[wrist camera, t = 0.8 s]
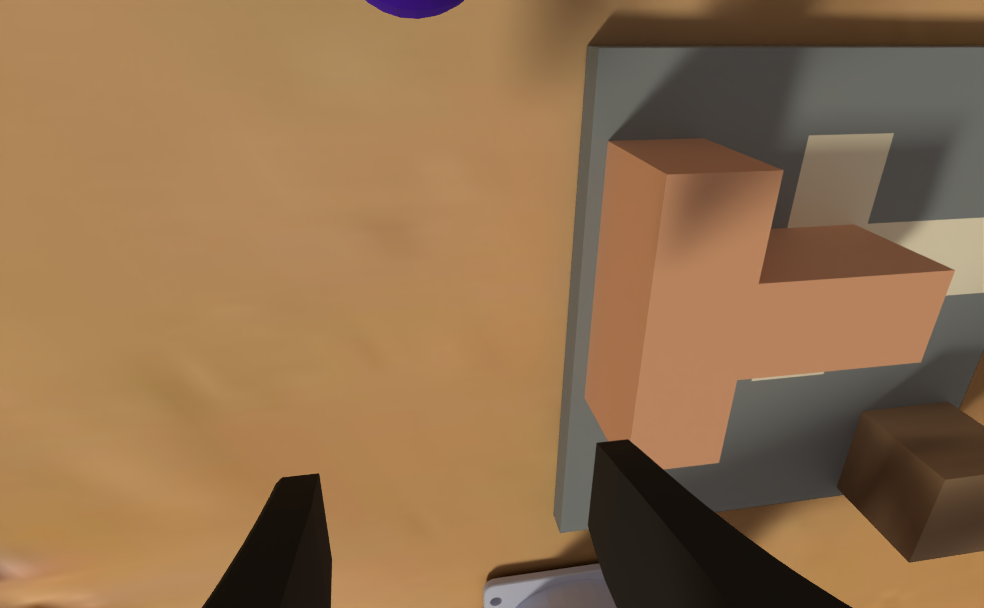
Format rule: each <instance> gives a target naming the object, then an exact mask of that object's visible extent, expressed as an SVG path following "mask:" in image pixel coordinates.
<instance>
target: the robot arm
mask: <svg viewBox="0 0 984 608" xmlns="http://www.w3.org/2000/svg"><path fill="white" fill-rule="evenodd" d="M588 528H589V531H590V535H591V538H592V541H593V545H594V548H595V551H596V555H597V558H598V561H599V563H598V564H591V565H584V566H577V567H570V568H563V569H556V570H549V571H542V572H535V573H529V574H522V575H515V576H508V577H501V578H494V579H491V580H489V581H487V582H486V583H485V585H484V587H483V608H852V607H850V606H849V605H847V604H845V603H844V602H842V601H840V600H839V599H837V598H835V597H834V596H832V595H831V594H829V593H828V592H826V591H824V590H823V589H821V588H820V587H818V586H817V585H815V584H814V583H812V582H810V581H809V580H807V579H806V578H804V577H803V576H801V575H800V574H798V573H796V572H795V571H793V570H792V569H791V568H789V567H788V566H786V565H785V564H783V563H782V562H780V561H779V560H777V559H776V558H775V557H773V556H772V555H770V554H769V553H768V552H766V551H765V550H764V549H762V548H761V547H760V546H758V545H757V544H755V543H754V542H753V541H751V540H750V539H749V538H747V537H746V536H744V535H743V534H742V533H740V532H739V531H738V530H737V529H735V528H734V527H733V526H731V525H730V524H729V523H728V522H726V521H725V520H724V519H722V518H721V517H720V516H719V515H717V514H716V513H715V512H714V511H712V510H711V509H710V508H709V507H707V506H706V505H705V504H704V503H703V502H701V501H700V500H699V499H698V498H696V497H695V496H694V495H693V494H692V493H690V492H689V491H688V490H687V489H686V488H684V487H683V486H682V485H681V484H680V483H679V482H677V481H676V480H675V479H674V478H673V477H672V476H670V475H669V474H668V473H667V472H666V471H665V470H663V469H662V468H661V467H660V466H659V465H658V464H657V463H655V462H654V461H653V460H652V459H651V458H650V457H648V456H647V455H646V454H645V453H644V452H643V451H642V450H640V449H639V448H638V447H637V446H636V445H634V444H633V443H632V442H631V441H630V440H628V439H625V440H616V441H607V442H598V443H596V452H595V462H594V471H593V481H592V490H591V499H590V509H589V518H588ZM331 577H332V557H331V550H330V543H329V537H328V530H327V523H326V517H325V510H324V503H323V496H322V490H321V483H320V476H319V473H318V474H309V475H300V476H291V477H282V478H281V479H280V480H279V481H278V482H277V483H276V485H275V487H274V489H273V491H272V493H271V495H270V497H269V499H268V501H267V502H266V504H265V506H264V508H263V510H262V512H261V514H260V515H259V517H258V519H257V521H256V523H255V524H254V526H253V528H252V530H251V531H250V533H249V535H248V536H247V538H246V540H245V542H244V543H243V545H242V547H241V548H240V550H239V551H238V553H237V555H236V556H235V558H234V559H233V561H232V563H231V564H230V566H229V567H228V569H227V570H226V572H225V574H224V575H223V577H222V578H221V580H220V582H219V583H218V585H217V586H216V588H215V589H214V591H213V592H212V594H211V595H210V597H209V598H208V600H207V601H206V602H205V604H204V605H203V607H202V608H331Z"/></svg>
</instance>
